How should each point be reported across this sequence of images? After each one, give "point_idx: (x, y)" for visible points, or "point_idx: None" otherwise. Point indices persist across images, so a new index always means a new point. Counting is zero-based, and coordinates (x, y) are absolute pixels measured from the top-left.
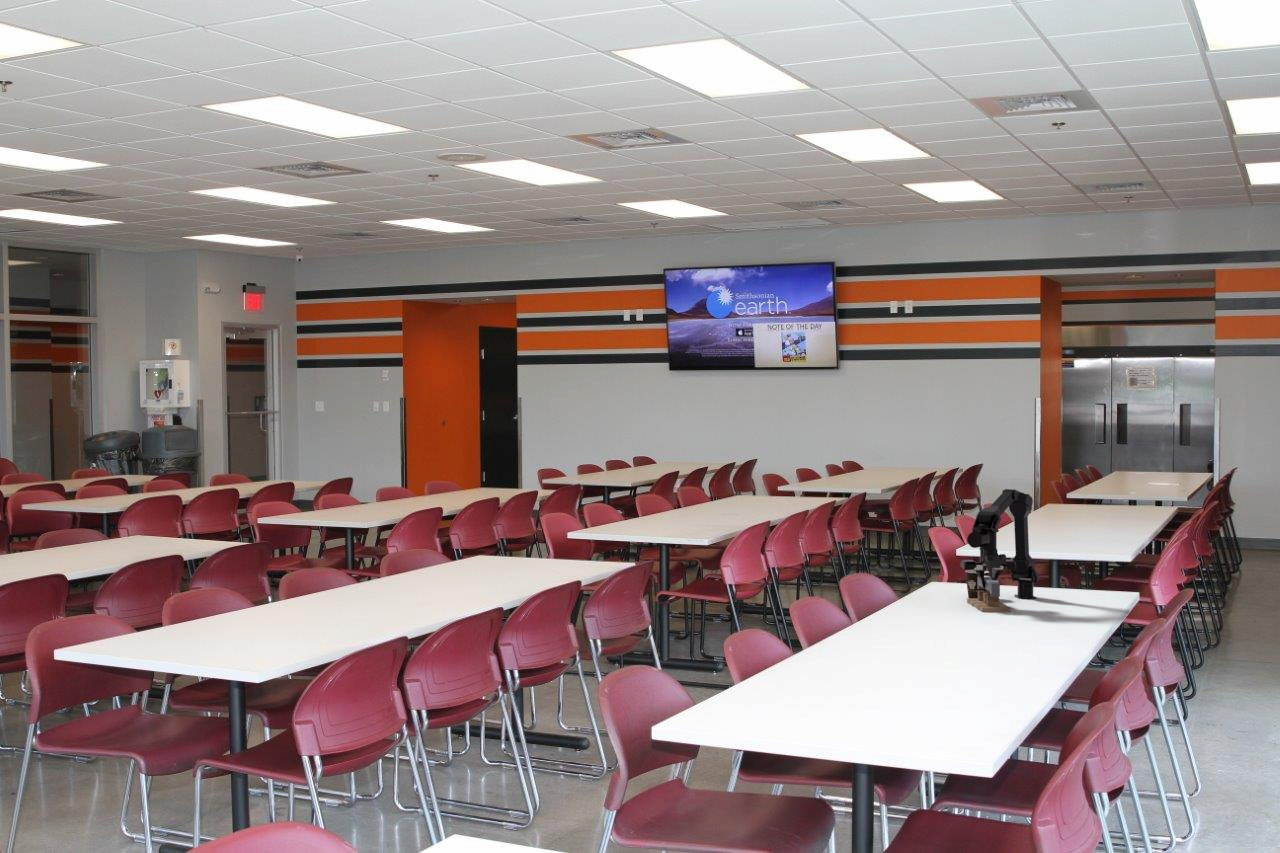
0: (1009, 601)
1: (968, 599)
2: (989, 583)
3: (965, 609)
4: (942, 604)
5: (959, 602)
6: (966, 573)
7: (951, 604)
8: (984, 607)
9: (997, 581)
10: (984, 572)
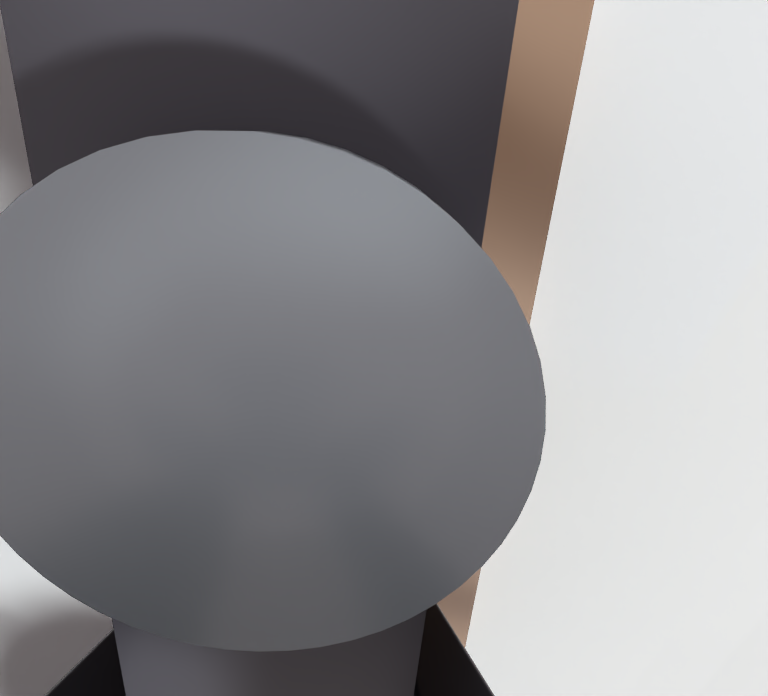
0: (12, 666)
1: (467, 632)
2: (480, 205)
3: (683, 258)
4: (738, 566)
5: (519, 644)
6: None
7: (652, 562)
8: (546, 6)
9: (5, 223)
10: None
